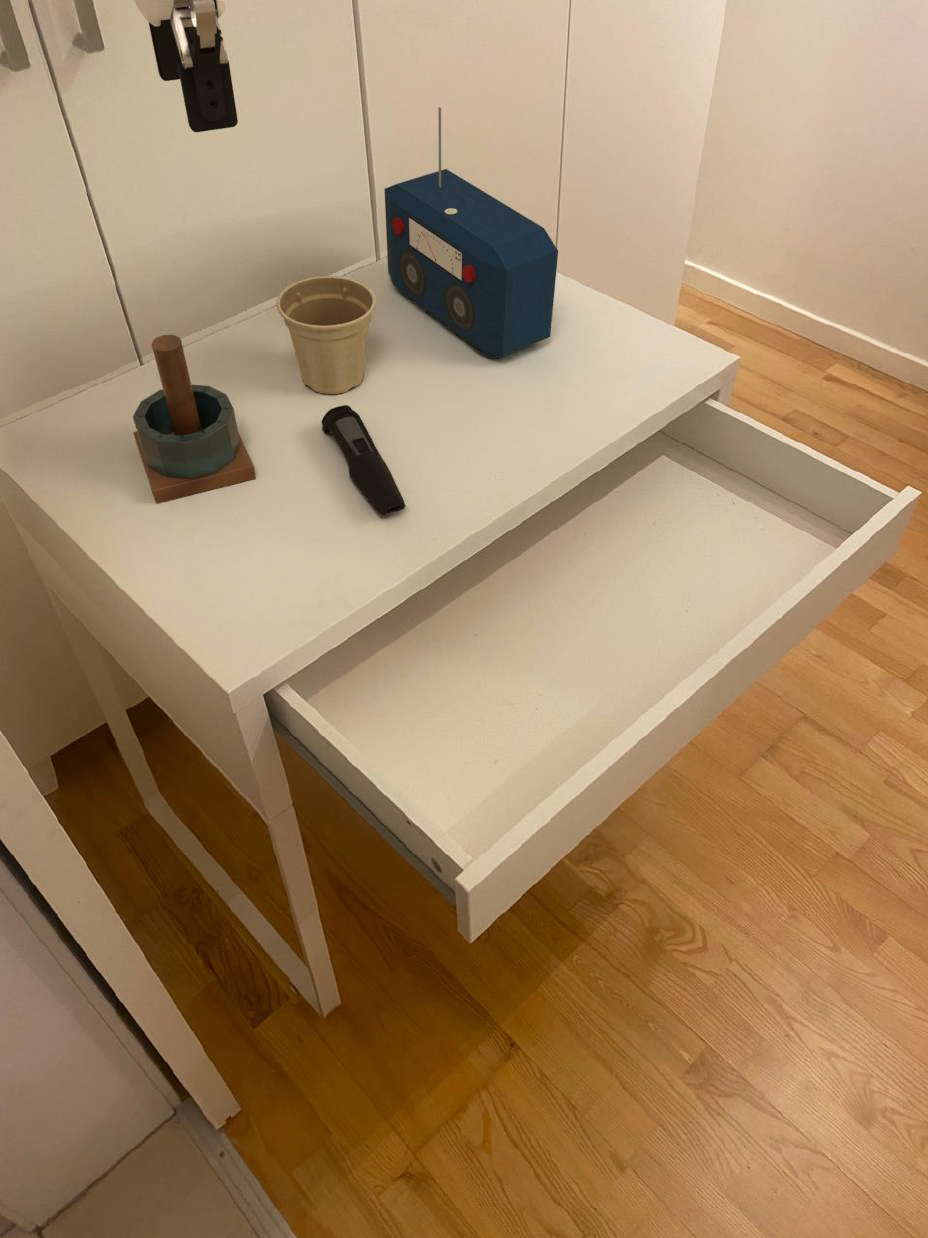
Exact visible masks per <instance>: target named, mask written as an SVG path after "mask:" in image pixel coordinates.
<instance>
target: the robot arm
mask: <svg viewBox="0 0 928 1238" xmlns="http://www.w3.org/2000/svg"><path fill="white" fill-rule="evenodd" d="M133 2H134V4H135V5H136V7H137V9H138V10H139V12H141V14H142V16H143V17H144V19H145V20H146V21H147V23H148V27H149V33H150V37H151V42H152V46H153V52H154V57H155V62H156V67H157V72H158V75H159V78H160V79H161V80H162V81H164V82H170V81H177V80H180V81H179V82H180V86H181V91H182V92H181V93H182V97H183V101H184V108H185V112H186V119H187V123H188V126H189V128H190V129H191V130H190V131H192V132H194V133H203V132H209V131H215V130H217V131H218V130H223V129H229V128H235V127H236V126H237V125H238V122H239V119H238V112H237V107H236V100H235V99H236V98H235V92H234V86H233V79H232V73H231V67H230V61H229V58H228V52H227V49H226V46H225V41H224V37H223V35H222V34H223V33H222V30H221V26H220V23H219V19H220V18H221V17H222V15H223V14H224V12H225V9H226V7H225V0H133Z"/></svg>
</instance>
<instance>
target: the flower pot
mask: <svg viewBox="0 0 928 1238" xmlns="http://www.w3.org/2000/svg"><path fill="white" fill-rule="evenodd" d="M376 307H377V298H376V294H375V293H374V291H373V290H372V289H371V288H370V287H369V286H367V285H366V284H365V283H363V282H361V281H359V280H356V279H354V278H350V277H346V276H339V275H321V276H313V277H309V278H304V279H300V280H297V281H295V282H293V283H291V284H289V285H288V286H286V287H285V288H283V289H282V291H280V293H279V294H278V297H277V298H276V309H277V312H278V314H279V315H280V316H281V318H283V323H284V324H285V326H286V327H287V329H288V331H289V335H290V338H291V343H292V345H293V350H294V352H295V357H296V360H297V363H298V368H299V371H300V375H301V379H302V382H303V384H304V385H305V386H308V387H309V388H311V389H312V390H313V391H314V392H316V393H319V394H320V393H321V394H325V395H327V394H328V395H338V394H343V393H346V392H348V391H349V390H351V389H352V388H355V387H358V386H359V385H360V384H361V383H362V382H363V379H364V376H365V373H364V372H365V365H366V364H365V363H366V351H367V342H368V341H367V340H368V334H369V333H368V332H369V324H370V323H371V320H372V315H373V313H374V311H375V309H376Z"/></svg>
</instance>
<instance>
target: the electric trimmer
mask: <svg viewBox="0 0 928 1238" xmlns="http://www.w3.org/2000/svg"><path fill="white" fill-rule="evenodd" d="M321 425H322V426H321V430H322V431H323V433H324V434H331V435H332V437H333V439H334V440H335V442H336V444H337V445H338V447H339V449H340V451H341V452H342V455H343V456H344V458H345V461H346V463H347V467H348V475H349V479H350V480H351V481H352V483H353V484H354V486H355V487H356V488H357V490H359V492H360V493H361V494H362V496H363V497H364V498H365V499H366V501H368V503H369V504H370V505H371V506H372V508H373V509H374V510H375V511H376V512H377V514H378V515H379V516H385V515H388V514H393V513H396V512H400V511H404V510H405V509H406V503H405V500H404V498H403V496H402V493H401V491H400V489H399V487H398V485H397V483H396V481H395V478H394V477H393V476H394V475H392V472H391V470H390V468H389V467H388V464H387V463H386V461H385V460H384V458H383V457H382V456H381V453H380V451H379V450H378V449H377V447H376V445H375V443H374V441H373V439H372V437H371V435H370V433H369V431H368V428H367V427H366V425H365V423H364V422H363V420H362V419H361V416H360V414H359V413H357V412H356V411H355V410H354V409H352V407H351V406H349V405H347V404H344V405H339V406H335V407H332V408H330V409H329V410H328V411H326V413H325V414H324V415H323V417H322V419H321Z"/></svg>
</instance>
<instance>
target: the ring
mask: <svg viewBox="0 0 928 1238" xmlns="http://www.w3.org/2000/svg"><path fill="white" fill-rule="evenodd" d="M191 385H192V389H193V394H194V398H195V402H196V407H197V411H198V415H199V420H200V424H201V427H207V428H206V429H204V430H203V431H200V432H196V433H191V434H187V435H183V436H179V435H169V434H170V433H172V432H173V431H174V430H173V426H172V422H171V418H170V414H169V410H168V407H167V403H166V399H165V395H164V391H163V388H161V389H158V390H157V391H155V392H154V393H152V394H150V395H149V396H147V397H146V398H144V399H143V400H140V403H139V404H138V407H137V408H136V410H135V412H134V413H133V416H132V420H133V423H134V426H135V430H136V431H137V434H138V437H139V440H140V444H141V447H142V451H143V454H144V456H145V459H146V462H147V464H148V467H149V468H151V469H153V470H155V471H156V472H158V473H160V474H162V475H164V476H166V477H172V478H185V479H193V478H197V477H201V476H205V475H208V474H212V473H216V472H218V471H219V470H220V469H222V468H223V467H224V466H226V465H227V464H229V463H230V462H231V461H233V460H234V459H235V457H236V454H237V452H238V449H239V447H240V439H239V434H240V433H239V434H238V432H239V430H238V423H237V420H236V413H235V409H234V406H233V404H232V402H231V400H230V399H229V396H228V395H227V394H226V393H224V392H222V391H220V390H218V389H216V388H214V387H212V386H210V385H203V384H191Z"/></svg>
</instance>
